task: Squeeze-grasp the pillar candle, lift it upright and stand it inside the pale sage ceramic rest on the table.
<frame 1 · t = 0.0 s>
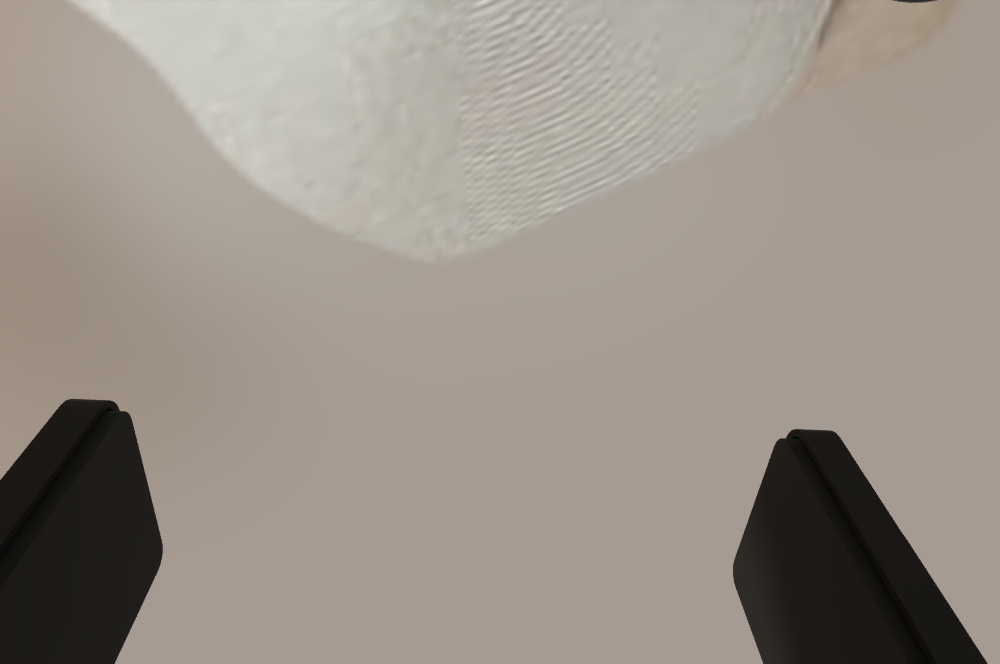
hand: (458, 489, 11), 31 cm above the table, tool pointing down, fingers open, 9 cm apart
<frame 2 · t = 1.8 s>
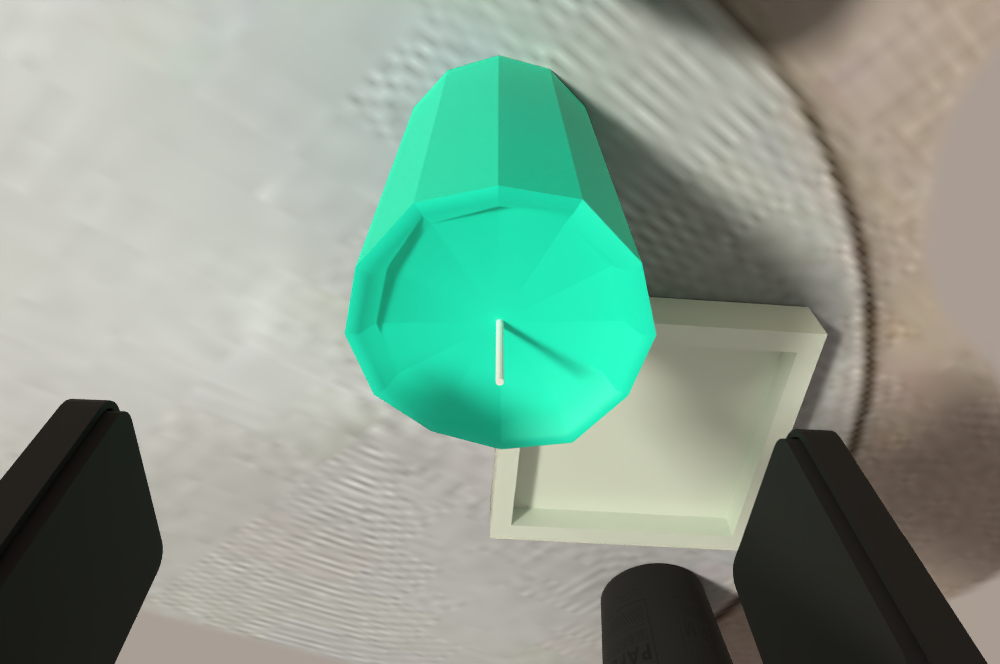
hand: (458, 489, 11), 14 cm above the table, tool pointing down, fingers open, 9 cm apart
rest: (634, 415, 28), on the table
candle: (499, 153, 23), on the table
drinking cup: (650, 593, 34), on the table
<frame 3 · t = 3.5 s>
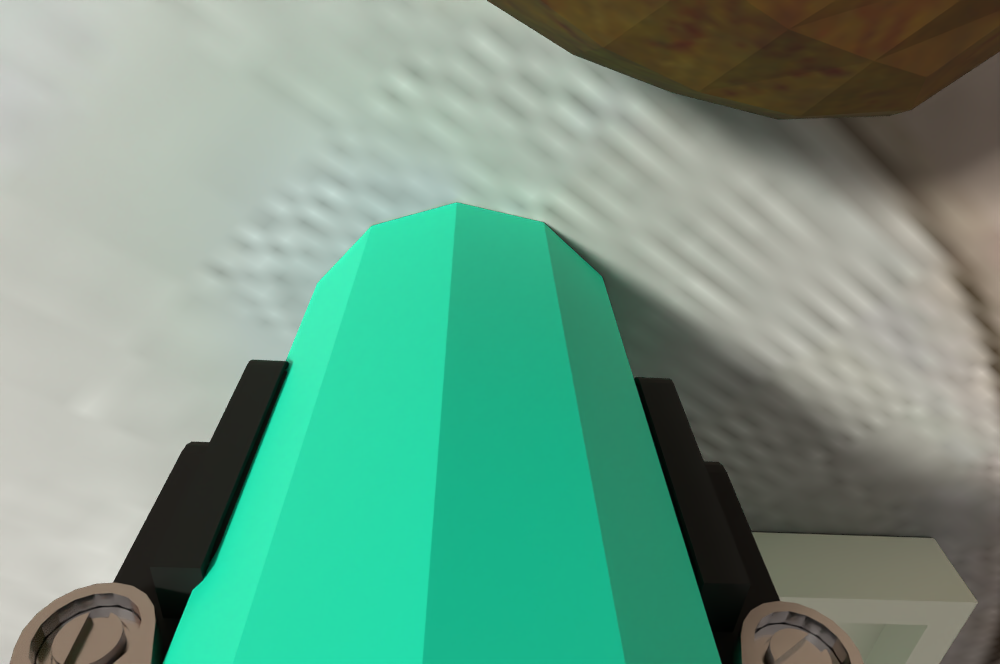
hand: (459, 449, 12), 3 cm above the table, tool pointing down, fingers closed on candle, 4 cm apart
candle: (463, 343, 14), on the table, touching gripper
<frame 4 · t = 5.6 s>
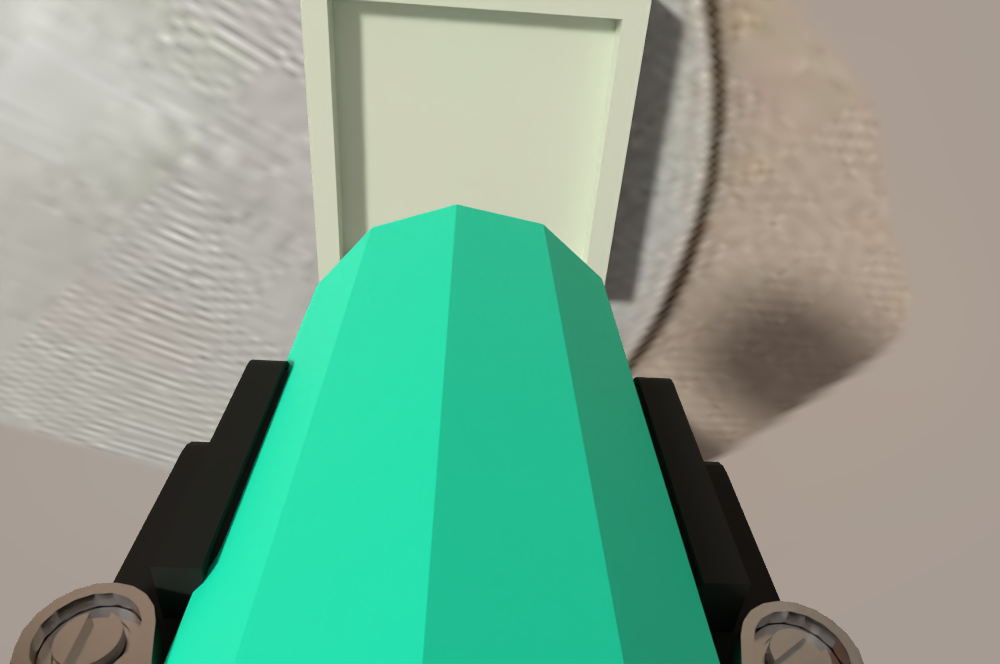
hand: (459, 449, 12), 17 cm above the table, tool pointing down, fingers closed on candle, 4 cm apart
rest: (469, 137, 26), on the table
candle: (463, 344, 14), point 14 cm above the table, touching gripper
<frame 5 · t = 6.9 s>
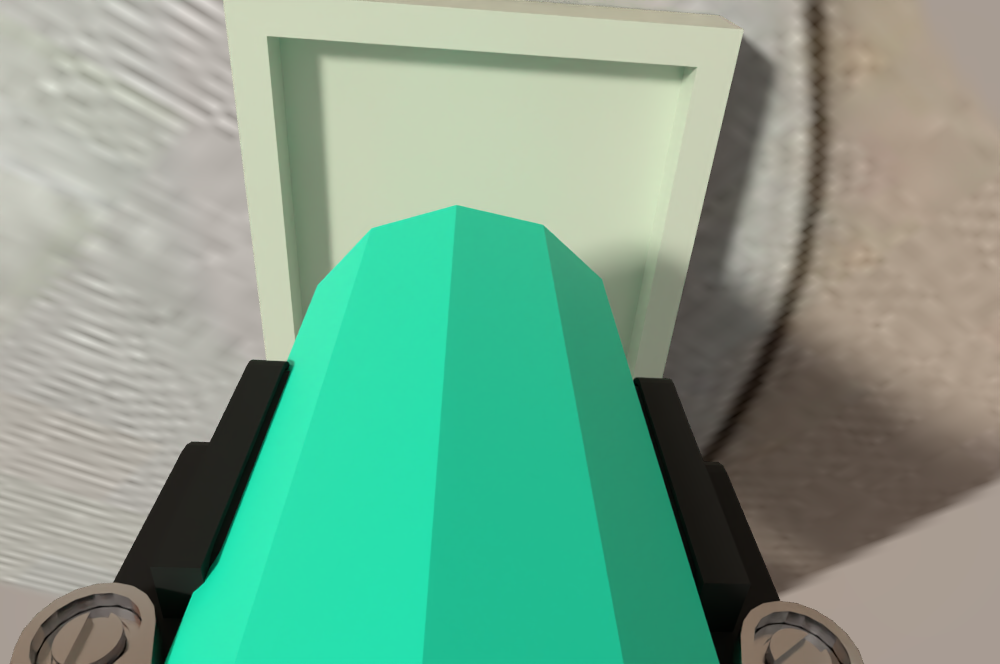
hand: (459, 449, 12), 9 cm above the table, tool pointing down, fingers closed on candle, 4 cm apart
rest: (475, 217, 19), on the table
candle: (463, 345, 14), point 6 cm above the table, touching gripper
when the fingers open (5 cm above the table, at t = 8.0 s): candle drops 1 cm, resting on rest.
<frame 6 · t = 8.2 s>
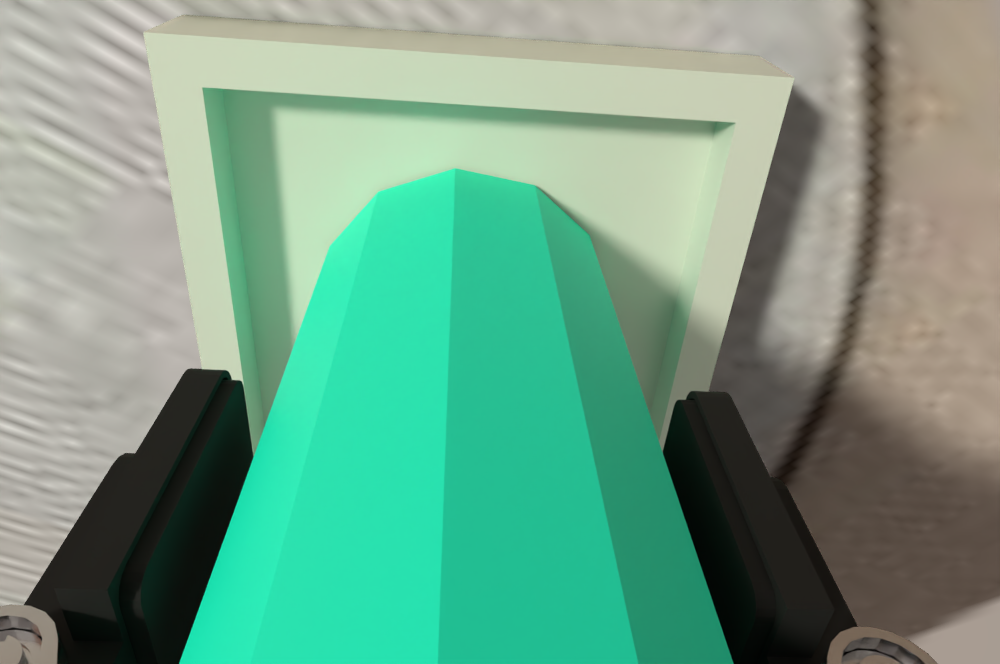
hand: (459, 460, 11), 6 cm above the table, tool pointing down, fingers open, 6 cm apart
rest: (464, 289, 16), on the table
candle: (464, 300, 15), point 1 cm above the table, touching rest
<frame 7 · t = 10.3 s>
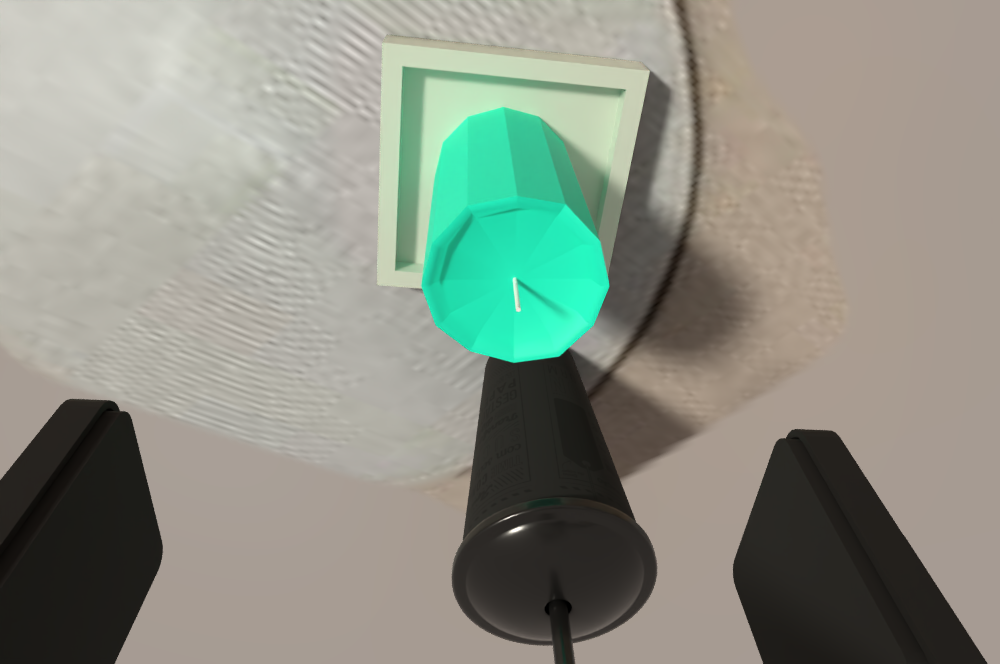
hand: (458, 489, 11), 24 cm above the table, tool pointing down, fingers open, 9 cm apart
rest: (501, 172, 33), on the table
candle: (502, 174, 32), point 1 cm above the table, touching rest
drinking cup: (529, 370, 39), on the table
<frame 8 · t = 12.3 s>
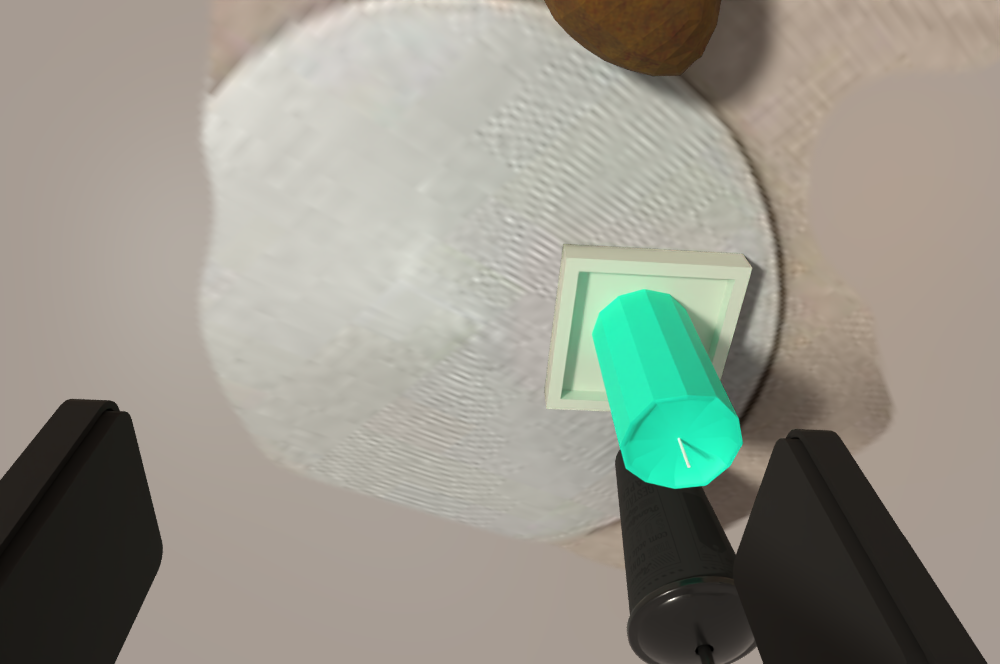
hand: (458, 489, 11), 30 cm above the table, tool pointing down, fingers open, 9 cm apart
rest: (638, 326, 45), on the table
candle: (640, 330, 44), point 1 cm above the table, touching rest
drinking cup: (648, 457, 51), on the table
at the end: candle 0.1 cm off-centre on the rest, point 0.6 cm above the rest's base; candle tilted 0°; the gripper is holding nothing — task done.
